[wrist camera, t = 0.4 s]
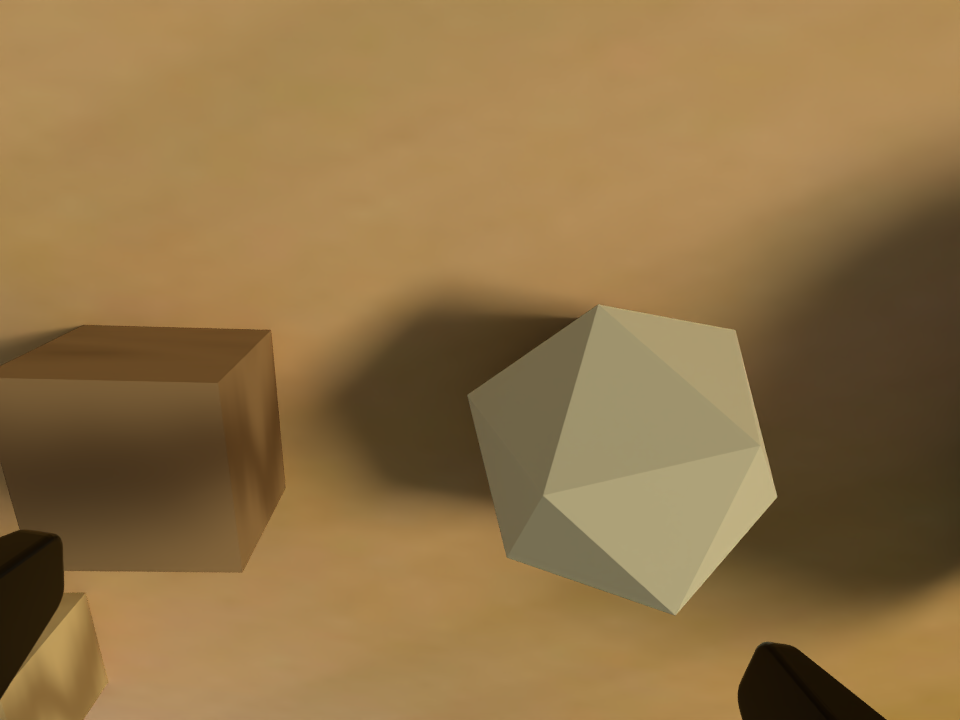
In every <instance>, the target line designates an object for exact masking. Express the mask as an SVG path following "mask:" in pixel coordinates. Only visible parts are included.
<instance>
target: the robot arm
mask: <svg viewBox="0 0 960 720" xmlns="http://www.w3.org/2000/svg"><path fill="white" fill-rule="evenodd" d="M63 592H64V563H63V543H62V540H61V538H60V537H59V536H58V535H57V534H54V533H49V532H43V531H36V530H29V529H23V530H18V531H15V532H12V533H10V534H7V535H5V536H2V537H0V700H1V698H2V696H3V695H4V693H5V692H6V690H7V689H8V687H9V685H10V684H11V682H12V681H13V679H14V677H15V676H16V674H17V673H18V671H19V669H20V668H21V666H22V665H23V663H24V661H25V660H26V658H27V657H28V655H29V654H30V652H31V650H32V649H33V647H34V646H35V644H36V642H37V641H38V639H39V638H40V636H41V634H42V633H43V631H44V630H45V628H46V626H47V625H48V623H49V622H50V620H51V618H52V617H53V615H54V614H55V612H56V610H57V609H58V607H59V605H60V602H61V600H62V597H63ZM738 704H739V709H740V713H741V716H742V720H886V719H885V718H884V717H882V716H881V715H880V714H879V713H877V712H876V711H875V710H874V709H872V708H871V707H870V706H869V705H867V704H866V703H865V702H864V701H862V700H861V699H860V698H859V697H857V696H856V695H855V694H854V693H852V692H851V691H850V690H849V689H847V688H846V687H845V686H844V685H842V684H841V683H840V682H839V681H837V680H836V679H835V678H834V677H832V676H831V675H830V674H828V673H827V672H826V671H825V670H823V669H822V668H821V667H820V666H818V665H817V664H816V663H815V662H813V661H812V660H811V659H810V658H808V657H807V656H806V655H805V654H803V653H802V652H801V651H800V650H798V649H797V648H795V647H793V646H791V645H786V644H780V643H773V642H763V643H761V644H760V645H759V646H758V647H757V648H756V650H755V652H754V654H753V656H752V659H751V661H750V663H749V665H748V667H747V669H746V671H745V674H744V676H743V678H742V680H741V682H740V685H739V689H738Z"/></svg>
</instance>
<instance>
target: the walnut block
mask: <svg viewBox="0 0 960 720" xmlns="http://www.w3.org/2000/svg"><path fill="white" fill-rule="evenodd" d="M0 462H1V465H2V469H3V472H4V476H5V480H6V483H7V487H8V490H9V494H10V497H11V501H12V504H13V508H14V511H15V515H16V518H17V522H18V525H19V529H20V530H23V529H29V530H36V531H43V532H49V533H54V534H57V535H58V536H59V537H60V538H61V540H62V543H63V563H64V571H142V572H238V573H242V572H243V570H244V569H245V567H246V565H247V563H248V561H249V559H250V557H251V555H252V553H253V551H254V549H255V547H256V545H257V543H258V541H259V539H260V537H261V535H262V533H263V531H264V529H265V527H266V525H267V523H268V521H269V519H270V517H271V515H272V513H273V511H274V510H275V508H276V506H277V504H278V502H279V500H280V498H281V496H282V494H283V492H284V490H285V477H284V466H283V455H282V444H281V433H280V422H279V411H278V400H277V389H276V378H275V367H274V356H273V345H272V334H271V330H251V329H213V328H176V327H138V326H101V325H83V326H81V327H79V328H77V329H75V330H73V331H71V332H69V333H66V334H64V335H62V336H60V337H58V338H56V339H54V340H52V341H50V342H48V343H46V344H44V345H42V346H40V347H38V348H36V349H34V350H32V351H30V352H28V353H26V354H24V355H22V356H20V357H18V358H16V359H13V360H11V361H9V362H7V363H5V364H3V365H1V366H0Z"/></svg>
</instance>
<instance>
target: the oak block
mask: <svg viewBox="0 0 960 720" xmlns="http://www.w3.org/2000/svg"><path fill="white" fill-rule="evenodd" d="M107 683H108V679H107V675H106V671H105V668H104V664H103V660H102V656H101V652H100V648H99V644H98V640H97V636H96V632H95V628H94V624H93V620H92V616H91V612H90V608H89V604H88V600H87V596H86V593H63V597H62V600H61V602H60V605H59V607H58V609H57V610H56V612H55V614H54V615H53V617H52V618H51V620H50V622H49V623H48V625H47V626H46V628H45V630H44V631H43V633H42V634H41V636H40V638H39V639H38V641H37V642H36V644H35V646H34V647H33V649H32V650H31V652H30V654H29V655H28V657H27V658H26V660H25V661H24V663H23V665H22V666H21V668H20V669H19V671H18V673H17V674H16V676H15V677H14V679H13V681H12V682H11V684H10V685H9V687H8V689H7V690H6V692H5V693H4V695H3V696H2V698H1V700H0V720H83V719H84V718H85V716H86V715H87V713H88V712H89V710H90V709H91V707H92V706H93V704H94V703H95V701H96V700H97V698H98V697H99V695H100V694H101V692H102V691H103V689H104V688H105V686H106V685H107Z"/></svg>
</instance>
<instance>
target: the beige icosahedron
mask: <svg viewBox="0 0 960 720" xmlns="http://www.w3.org/2000/svg"><path fill="white" fill-rule="evenodd" d="M467 396H468V400H469V405H470V409H471V413H472V417H473V421H474V425H475V429H476V433H477V437H478V441H479V446H480V450H481V454H482V458H483V462H484V466H485V470H486V474H487V478H488V482H489V487H490V491H491V495H492V499H493V503H494V507H495V511H496V515H497V519H498V523H499V528H500V532H501V536H502V540H503V544H504V548H505V552H506V556H507V558H510V559H513V560H516V561H519V562H522V563H524V564H527V565H530V566H533V567H536V568H539V569H542V570H545V571H548V572H551V573H553V574H556V575H559V576H562V577H565V578H568V579H571V580H574V581H577V582H580V583H583V584H585V585H588V586H591V587H594V588H597V589H600V590H603V591H606V592H609V593H612V594H614V595H617V596H620V597H623V598H626V599H629V600H632V601H635V602H638V603H641V604H643V605H646V606H649V607H652V608H655V609H658V610H661V611H664V612H667V613H670V614H673V615H675V616H676V614H677V613H678V612H679V611H680V610H681V609H682V607H683V606H684V605H685V604H686V603H687V602H688V600H689V599H690V598H691V597H692V596H693V595H694V593H695V592H696V591H697V590H698V589H699V588H700V586H701V585H702V584H703V583H704V582H705V581H706V579H707V578H708V577H709V576H710V575H711V574H712V572H713V571H714V570H715V569H716V568H717V567H718V565H719V564H720V563H721V562H722V561H723V560H724V558H725V557H726V556H727V555H728V554H729V553H730V551H731V550H732V549H733V548H734V547H735V546H736V545H737V543H738V542H739V541H740V540H741V539H742V538H743V536H744V535H745V534H746V533H747V532H748V531H749V529H750V528H751V527H752V526H753V525H754V524H755V522H756V521H757V520H758V519H759V518H760V517H761V515H762V514H763V513H764V512H765V511H766V510H767V508H768V507H769V506H770V505H771V504H772V503H773V501H774V500H775V499H776V498H777V494H776V490H775V486H774V482H773V478H772V474H771V470H770V466H769V462H768V458H767V454H766V450H765V446H764V442H763V438H762V434H761V430H760V426H759V422H758V418H757V414H756V410H755V406H754V402H753V398H752V394H751V390H750V386H749V382H748V378H747V374H746V370H745V366H744V362H743V358H742V354H741V350H740V346H739V342H738V338H737V334H736V330H733V329H727V328H722V327H717V326H711V325H706V324H701V323H695V322H690V321H685V320H679V319H674V318H668V317H663V316H658V315H652V314H647V313H642V312H636V311H631V310H626V309H620V308H615V307H610V306H604V305H599V304H598V305H597V306H595V307H594V308H592V309H591V310H589V311H588V312H587V313H585V314H584V315H582V316H581V317H579V318H578V319H576V320H575V321H573V322H572V323H571V324H569V325H568V326H566V327H565V328H563V329H562V330H560V331H559V332H558V333H556V334H555V335H553V336H552V337H550V338H549V339H547V340H546V341H545V342H543V343H542V344H540V345H539V346H537V347H536V348H534V349H533V350H531V351H530V352H529V353H527V354H526V355H524V356H523V357H521V358H520V359H518V360H517V361H516V362H514V363H513V364H511V365H510V366H508V367H507V368H505V369H504V370H503V371H501V372H500V373H498V374H497V375H495V376H494V377H492V378H491V379H489V380H488V381H487V382H485V383H484V384H482V385H481V386H479V387H478V388H476V389H475V390H474V391H472V392H471V393H469V394H468V395H467Z"/></svg>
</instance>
